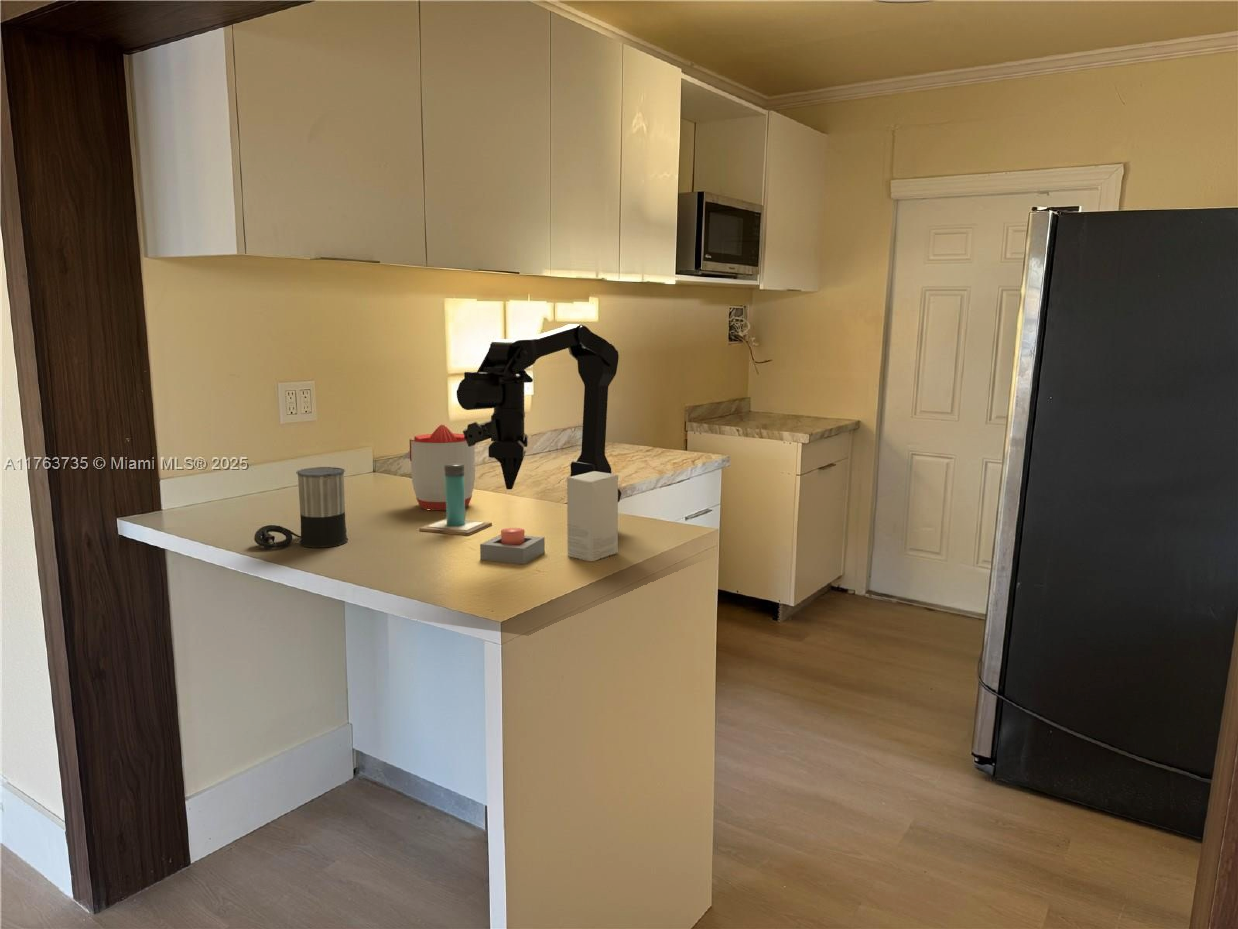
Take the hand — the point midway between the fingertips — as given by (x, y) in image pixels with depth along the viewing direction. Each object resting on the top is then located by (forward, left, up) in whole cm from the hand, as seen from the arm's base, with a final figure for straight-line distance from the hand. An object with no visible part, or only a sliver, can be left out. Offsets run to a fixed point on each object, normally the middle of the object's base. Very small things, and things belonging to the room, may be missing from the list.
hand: (509, 489), depth 162 cm
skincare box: (-16, -4, -13) cm, 20 cm away
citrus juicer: (+35, -32, -13) cm, 50 cm away
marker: (+20, -14, -12) cm, 28 cm away
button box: (-2, +2, -13) cm, 13 cm away
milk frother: (+42, +9, -13) cm, 45 cm away
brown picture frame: (+20, -14, -13) cm, 28 cm away
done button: (-2, +2, -11) cm, 11 cm away
